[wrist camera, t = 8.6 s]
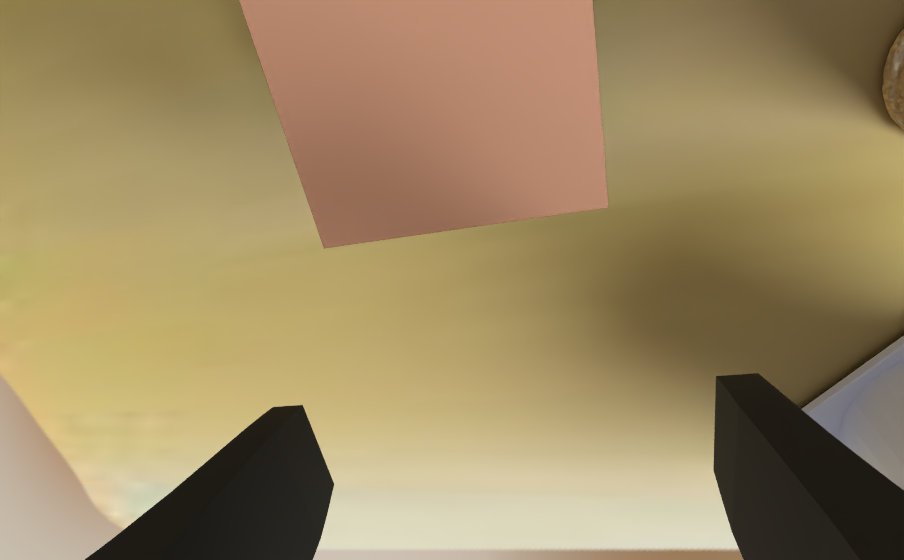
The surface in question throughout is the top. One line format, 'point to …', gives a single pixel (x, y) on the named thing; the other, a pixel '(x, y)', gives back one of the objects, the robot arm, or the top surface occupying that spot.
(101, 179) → the top surface
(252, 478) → the robot arm
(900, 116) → the sprinkles bottle
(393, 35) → the block
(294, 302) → the top surface
